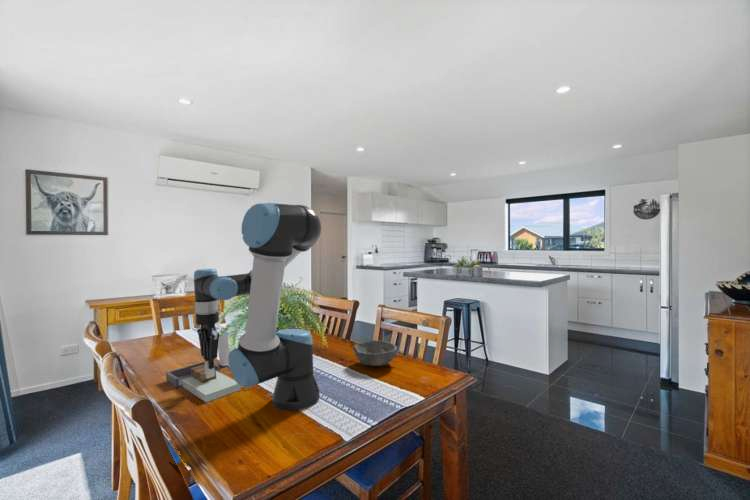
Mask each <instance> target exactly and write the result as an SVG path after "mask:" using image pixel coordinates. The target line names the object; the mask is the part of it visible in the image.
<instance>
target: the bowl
mask: <svg viewBox="0 0 750 500" xmlns="http://www.w3.org/2000/svg"><path fill="white" fill-rule="evenodd" d="M353 351H354V355H355V357H356V358H357V359H358V361H359V362H360V363H361V365H364V366H371V367H373V366H374V367H382V366H385V365H388V364H390V363H391V362H392V361H393V360H394V359H395V357H396V355H397V351H398V347H397V345H395V344H394V343H392V342H390V341H386V340H370V341H364V342H359V343H355V344H354V345H353Z"/></svg>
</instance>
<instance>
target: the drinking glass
mask: <svg viewBox="0 0 750 500" xmlns="http://www.w3.org/2000/svg"><path fill="white" fill-rule="evenodd" d="M221 329H222V328H219V329H216V334H218V333H219V332H220V331H221ZM228 335H229V333H228V331H227V332H225V334H224V335H222V336H221V337H220V338H219V340H218V353H217V354H218V359H219V366H220V367H229V362H228V356H229V353H230V352H231V351H230V349H229V345H228Z"/></svg>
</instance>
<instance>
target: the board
mask: <svg viewBox="0 0 750 500" xmlns="http://www.w3.org/2000/svg"><path fill="white" fill-rule="evenodd" d="M181 388H184V389H185V390H187V391H188V392H190V393H191V394H193V395H194V396H196V397H197V398H199V399H200V400H201V401H202V402H204V403H209V402H212V401H214V400H217V399H220V398H222V397H226V396H229V395H230V394H233V393H236V392H238V391H241V386H240V385H239V384H238V383H237V382H236V381H235V380H234V378H231V377H229V376H228V375H226V374H223V373H221V371H220V372H218V371H216V379H213V380H210V381H207V382H204V383H202V382H200V381H198V380H197V379H195V378H193V377H190V378H187V379H183V380H182V387H181Z"/></svg>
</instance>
